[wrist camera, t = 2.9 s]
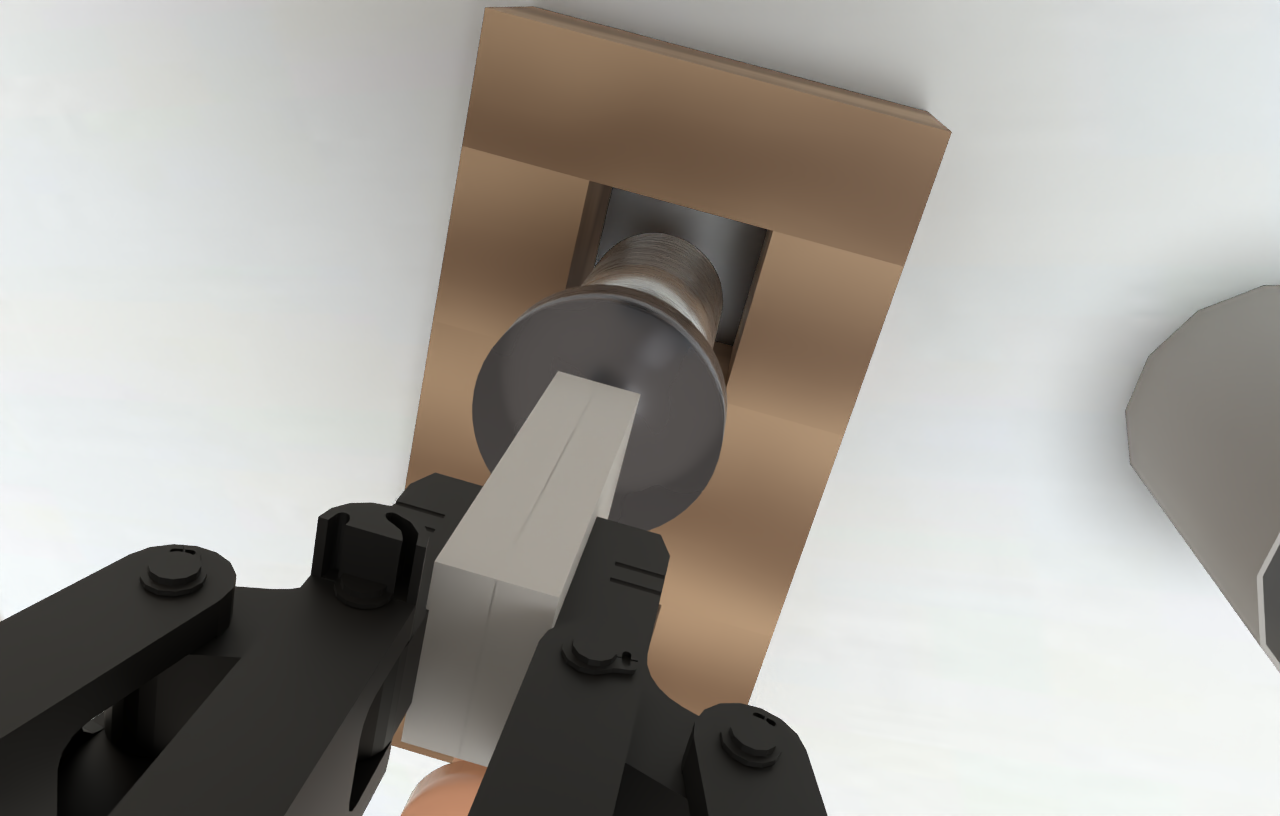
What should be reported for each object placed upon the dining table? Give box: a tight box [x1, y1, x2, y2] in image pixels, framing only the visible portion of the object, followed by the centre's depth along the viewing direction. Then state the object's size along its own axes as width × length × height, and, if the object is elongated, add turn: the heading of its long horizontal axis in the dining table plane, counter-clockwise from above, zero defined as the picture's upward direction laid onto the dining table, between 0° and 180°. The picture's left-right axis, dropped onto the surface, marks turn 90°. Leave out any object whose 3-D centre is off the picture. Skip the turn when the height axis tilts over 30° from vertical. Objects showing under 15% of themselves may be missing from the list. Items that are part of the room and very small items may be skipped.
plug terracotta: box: [401, 757, 487, 816], centre depth 28 cm, size 5×5×9 cm
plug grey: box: [472, 233, 727, 531], centre depth 23 cm, size 5×5×9 cm
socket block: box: [391, 6, 952, 763], centre depth 32 cm, size 24×12×5 cm, turn 166°
